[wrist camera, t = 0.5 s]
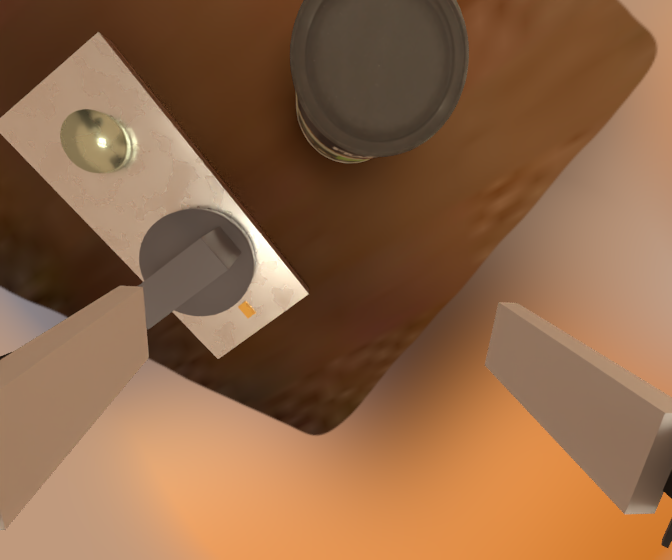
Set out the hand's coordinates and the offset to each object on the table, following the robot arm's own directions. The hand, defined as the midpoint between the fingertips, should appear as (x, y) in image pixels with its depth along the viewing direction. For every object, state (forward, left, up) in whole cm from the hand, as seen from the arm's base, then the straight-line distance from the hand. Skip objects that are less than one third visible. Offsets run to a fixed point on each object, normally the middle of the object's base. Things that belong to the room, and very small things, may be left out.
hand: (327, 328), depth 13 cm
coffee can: (-7, +10, -25) cm, 28 cm away
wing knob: (-4, -10, -22) cm, 25 cm away
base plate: (-9, -10, -24) cm, 28 cm away
